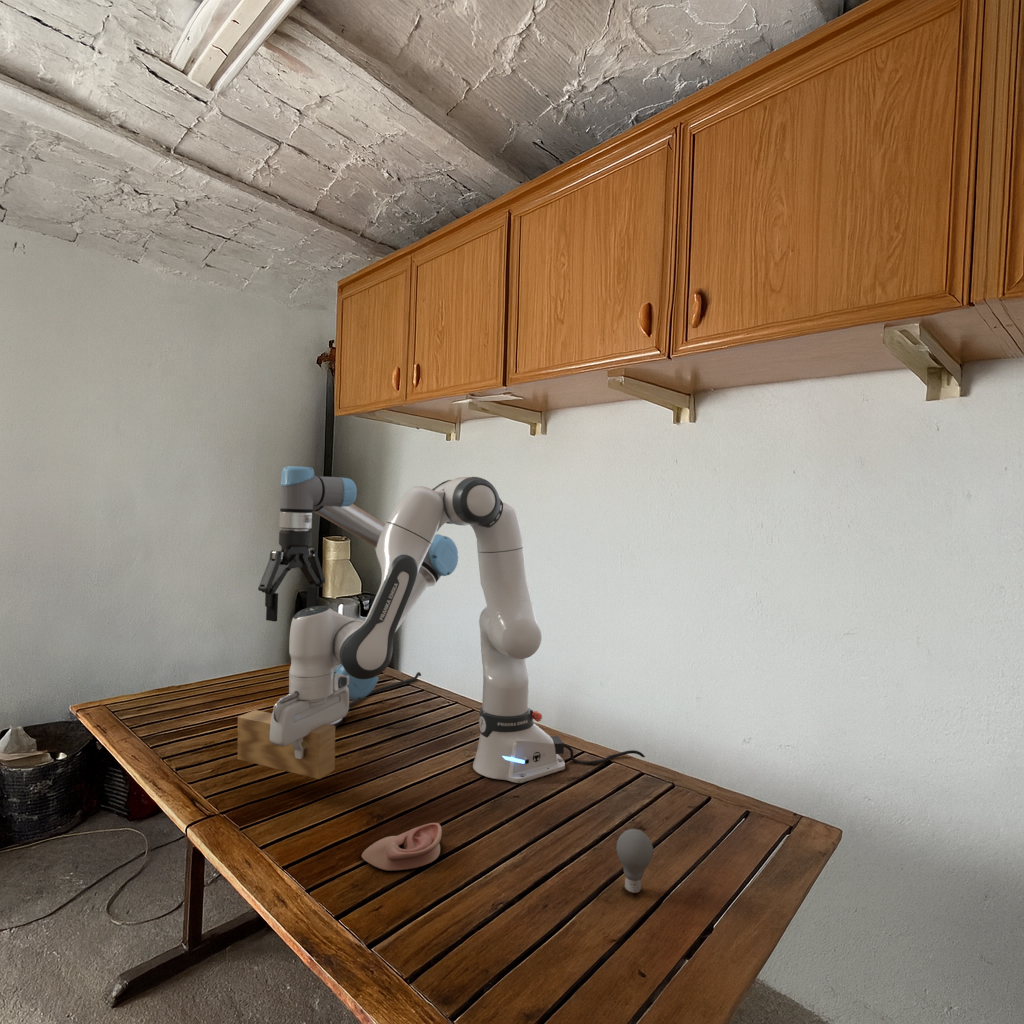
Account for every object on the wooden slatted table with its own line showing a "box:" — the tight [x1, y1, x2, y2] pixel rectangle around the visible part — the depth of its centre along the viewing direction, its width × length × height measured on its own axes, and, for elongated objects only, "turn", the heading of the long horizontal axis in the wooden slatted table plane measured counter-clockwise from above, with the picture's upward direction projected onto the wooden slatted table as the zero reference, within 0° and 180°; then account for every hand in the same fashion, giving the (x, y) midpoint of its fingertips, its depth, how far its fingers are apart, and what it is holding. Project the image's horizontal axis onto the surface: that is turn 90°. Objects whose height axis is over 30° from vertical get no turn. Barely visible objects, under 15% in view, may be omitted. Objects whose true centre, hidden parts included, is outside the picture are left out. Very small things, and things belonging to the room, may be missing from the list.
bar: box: [237, 709, 336, 780], centre depth 134 cm, size 22×5×9 cm, turn 67°
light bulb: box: [615, 828, 654, 894], centre depth 106 cm, size 6×6×10 cm
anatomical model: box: [361, 822, 443, 872], centre depth 114 cm, size 13×4×12 cm
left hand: (292, 616), depth 155 cm, fingers open, 13 cm apart
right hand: (311, 751), depth 131 cm, fingers closed on bar, 5 cm apart
